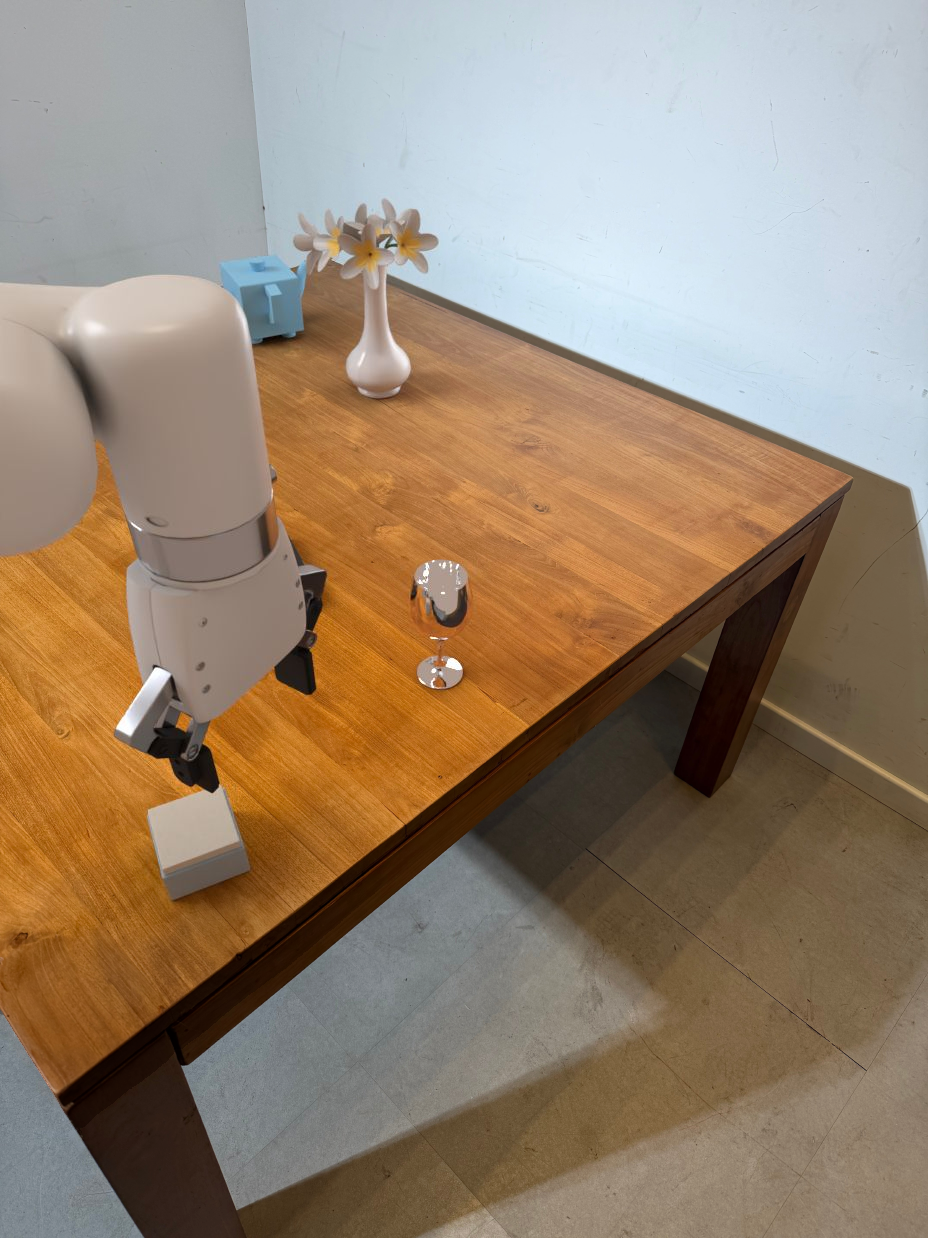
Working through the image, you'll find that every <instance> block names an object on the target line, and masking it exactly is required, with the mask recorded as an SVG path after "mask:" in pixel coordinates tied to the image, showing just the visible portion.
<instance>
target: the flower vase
mask: <svg viewBox="0 0 928 1238" xmlns="http://www.w3.org/2000/svg"><path fill="white" fill-rule="evenodd" d="M367 206H368V205H367V204H366V203H365V202H363V203H361V204H360V205H359V206H358V208H357V209H356V211H355V215H354V221H350V220H349V221H345V220H344V216H343V215H341V216H339V218H337V221H336V220H335V218H334V215H333V213H332V211H331V209H329V208H327V209H326V211H325V213H324V227H325V229H326V232H327V233H320V232H319V230H318V227H317V225H315V224H313V225H312V224H311V223H310V222H309V220H308V219H307V217H305V215H304V214H303V213H302V212H301V211H299V212H298V213H297V217H298V218H297V219H298V222H299V225H300V227H301V229H302V230H303V232H304V233H301V234H296V235H294V236H293V238H292V243H293V244H292V245H293V246H294V247H295V248H296V249H297V250H298V251H301V252H305V253H306V252H308V253H307V255H306V258H305V260H306V272H307V274H306V275H307V276H310V275H311V274H312V273H313V271H314V268H315V266H316V264H317V272H318V273H320V272H322V271H323V270H324V269H325V268H326V267H327V265H328V264H329V263H330V262H331V261H332V260H333V261H337V260H338V258H339V255H340V253H341V251H344V252H345V253H346V254H347V255H350V256H352V257H350V258H349V259H347V260H346V262H344V263H343V265H342V266H341V268H340V273H339V274H340V277H341V278H342V279H343V280H352V279H354V278H356V277H357V276H358V275H360V274H361V279H362V285H363V286H362V287H363V302H364V303H363V305H364V308H363V310H364V311H363V312H364V314H363V316H364V317H363V318H364V321H363V329H362V333H361V336H360V339H359V342H358V344H356V346H355V347H353V349H352V350H351V351H350V352H349V354H348V355H347V358H346V361H345V373H346V375H347V378H348V380H350V382H351V383H352V384H353V385H354V386H356V387H357V390H358V392H359V393H360V394H361V395H363V396H365V397H366V398H370V399H375V400H377V399H379V400H380V399H388V398H391V397H393V396H396V395H397V394H398V393H399V392H400V391H401V387H402V386H403V384H404V383H406V382H407V380H408V379H409V377H410V375H411V373H412V364H411V361H410V358H409V356H408V354H407V353H406V351H405V350H404V349H403V348H402V347H401V346H400V345H399V344H397V342H396V340H395V339H394V336H393V334H392V332H391V328H390V324H389V323H390V322H389V315H388V302H387V275H388V267H389V265H391V264H392V263H395V264H396V265H397V266H404V265H405V264H407V262H408V261H409V260H410V261H411V263H412V264H413V265H414V267H415V268H416V269H417V270H418V271H419V272H420V273H422V274H423V275H426V274H428V273H429V270H430V269H429V263H428V260H427V258H426V256H425V255H424V254H423V252H427V251H431V250H434V249H435V248H436V247H438V245H439V241H440V240H439V238H438V236H436V235H435V234H432V233H428V232H424V233H423V232H422V233H421V232H420V229H421V214H420V212H419V210H418V209H416V208H413V207H409V208H408V207H407V208H405V209H403V211H402V212H400V214H399V215H398V217H397V211H396V209H395V207H394V205H393V204H392V203H391V202H390V201H389V200H388V199H387V198H385V197H384V198H382V199H381V208H382V210H383V214H384V218H383V217H381V216H380V213H379V212H374V213H373V214H370V215H368V207H367ZM384 241H386V242H385V243H384V246H383V247H380V244H382V243H383V242H384ZM393 241H395V242H396V243H392V242H393ZM389 248H395V251H394V252H393V251H391V250H390V249H389Z"/></svg>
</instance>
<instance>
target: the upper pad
mask: <svg viewBox="0 0 928 1238" xmlns="http://www.w3.org/2000/svg"><path fill="white" fill-rule="evenodd" d="M146 818H147V822H148V826H149V830H150V834H151V838H152V843H153V847H154V850H155V851H154V852H155V855H156V858H157V862H158V866H159V871H160V875H161V879H162V881H163V883H164V886H165V888H166V891H167V893H168V896H169V898H170V900H171V901H175V900H177V899H180V898H183V897H185V896H186V897H187V896H189V895H191V894H193V893H195V892H198V891H201V890H204V889H206V888H209V887H212V886H214V885H216V884H219V883H221V882H224V881H226V880H229V879H232V878H234V877H237V876H240V875H242V874H245V873H247V872H250V871H251V869H252V868H251V866H250V862H249V858H248V855H247V851H246V847H245V845H244V841H243V838H242V835H241V833H240V829H239V826H238V823H237V820H236V817H235V815H234V811H233V808H232V806H231V802H230V800H229V797H228V793H227V790H226V788H225V787H222V784H219V788H218V789H217V790H216V791H215V792H214V793H210V792H208V791H206V790H205V789H202V790H200V791H197V792H195V793H192V794H189V795H186V796H184V797H179V798H178V799H175V800H171V801H169V802H165V803H163V804H160V805H158V806H157V805H156V806H154V807H151V808H149V809H147V815H146Z"/></svg>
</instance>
